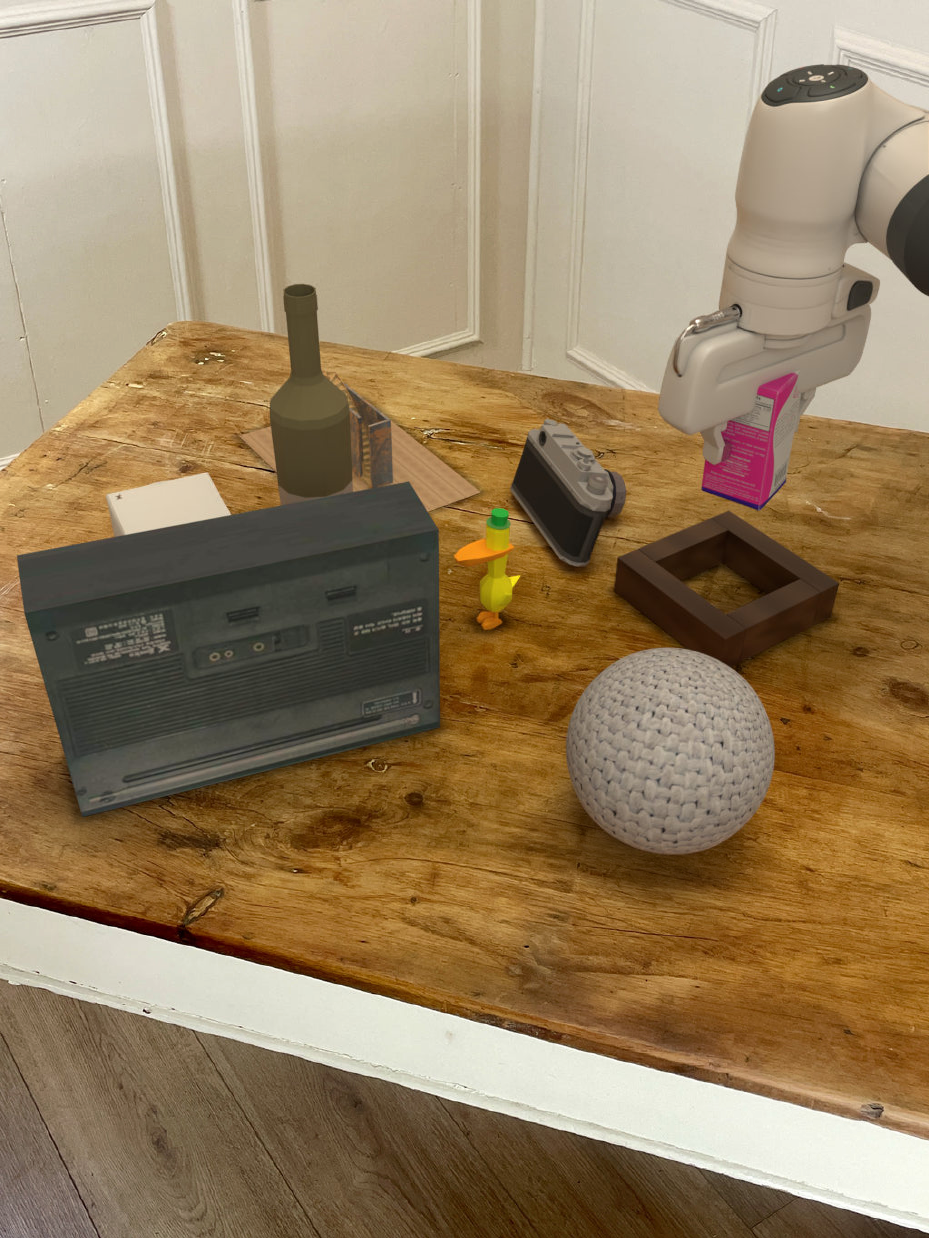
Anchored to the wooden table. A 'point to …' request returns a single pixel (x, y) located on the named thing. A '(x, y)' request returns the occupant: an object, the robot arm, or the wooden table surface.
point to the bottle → (309, 413)
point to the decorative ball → (670, 751)
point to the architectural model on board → (383, 455)
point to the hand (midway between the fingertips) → (750, 445)
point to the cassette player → (237, 642)
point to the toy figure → (492, 567)
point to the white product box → (165, 504)
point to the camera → (566, 491)
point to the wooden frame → (728, 539)
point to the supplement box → (758, 446)
